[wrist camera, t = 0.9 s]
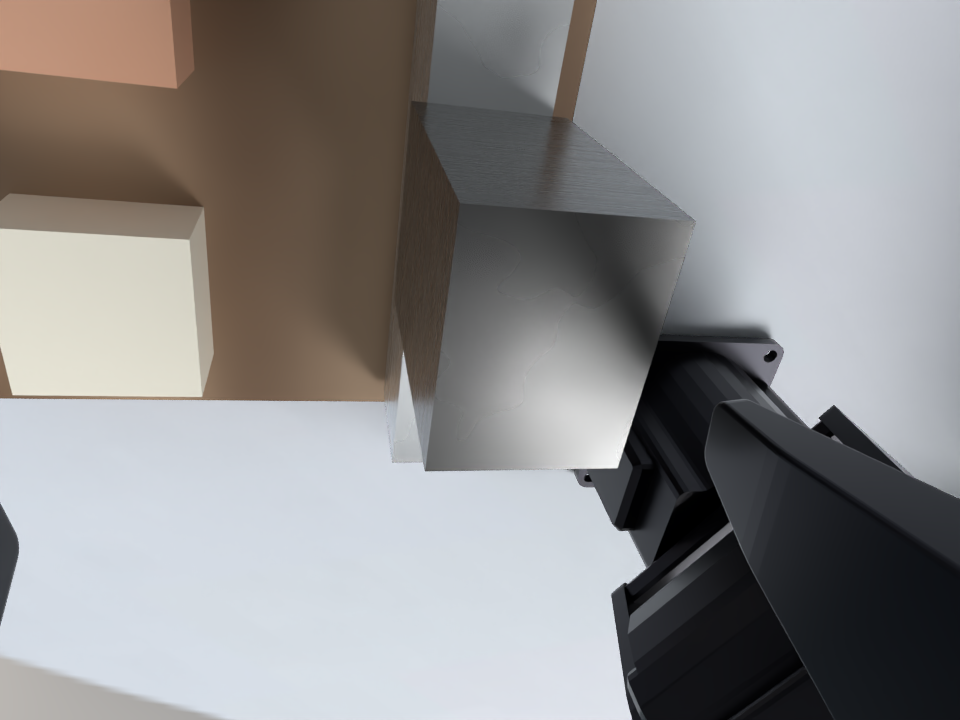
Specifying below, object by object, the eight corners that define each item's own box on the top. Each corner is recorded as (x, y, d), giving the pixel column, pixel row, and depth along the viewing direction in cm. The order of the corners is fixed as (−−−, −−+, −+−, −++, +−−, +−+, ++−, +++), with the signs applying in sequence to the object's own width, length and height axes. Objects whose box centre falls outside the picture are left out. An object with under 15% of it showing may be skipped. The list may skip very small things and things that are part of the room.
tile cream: (203, 206, 16) (189, 239, 14) (213, 353, 18) (202, 397, 16) (9, 193, 15) (-30, 226, 13) (43, 349, 17) (12, 395, 15)
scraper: (570, -157, 13) (846, -252, 6) (476, 394, 20) (558, 651, 13) (416, -190, 13) (530, -337, 5) (373, 393, 19) (399, 664, 12)
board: (591, -161, 16) (632, -174, 14) (497, 359, 23) (514, 402, 21) (-130, -315, 12) (-223, -364, 10) (24, 348, 19) (-12, 398, 17)
